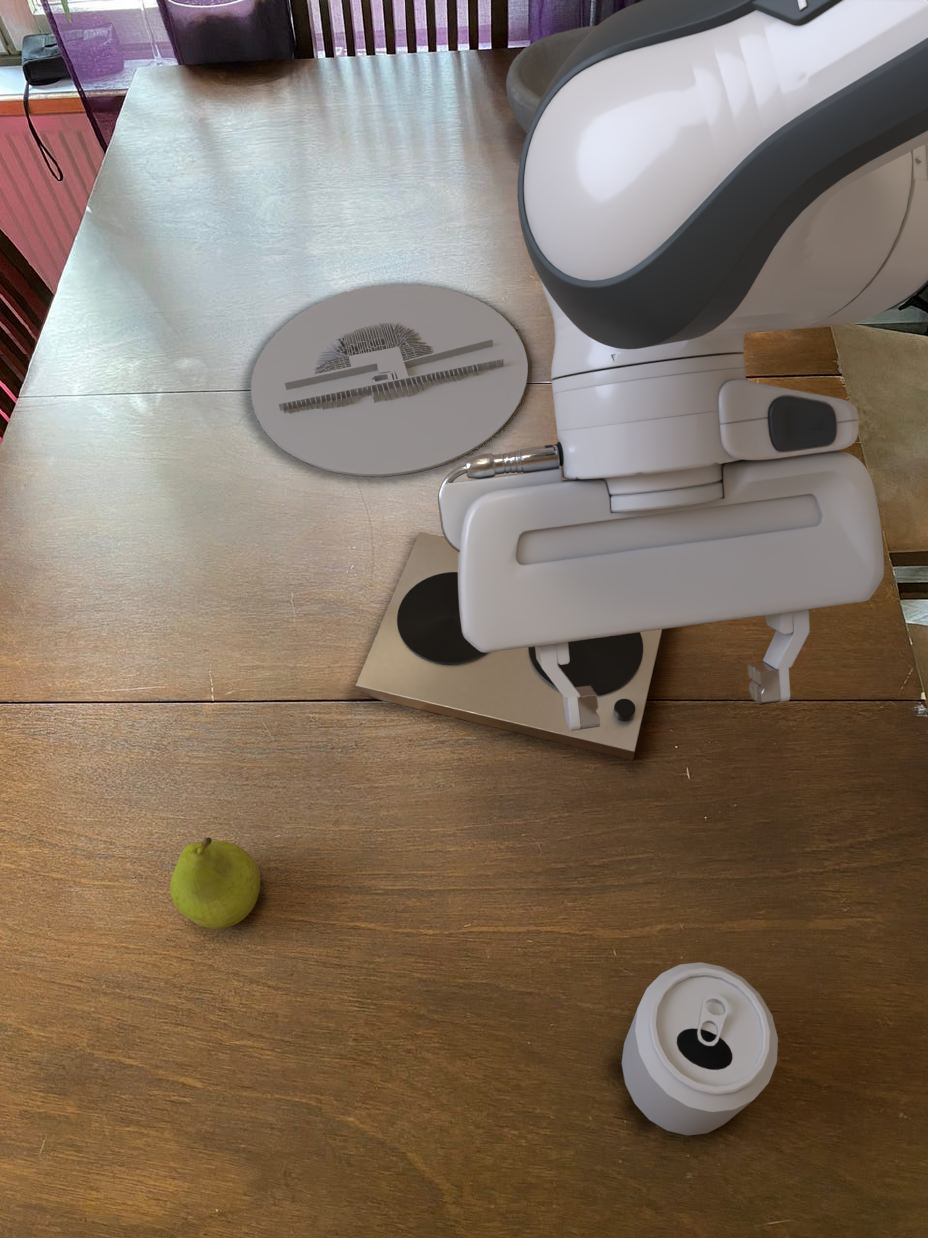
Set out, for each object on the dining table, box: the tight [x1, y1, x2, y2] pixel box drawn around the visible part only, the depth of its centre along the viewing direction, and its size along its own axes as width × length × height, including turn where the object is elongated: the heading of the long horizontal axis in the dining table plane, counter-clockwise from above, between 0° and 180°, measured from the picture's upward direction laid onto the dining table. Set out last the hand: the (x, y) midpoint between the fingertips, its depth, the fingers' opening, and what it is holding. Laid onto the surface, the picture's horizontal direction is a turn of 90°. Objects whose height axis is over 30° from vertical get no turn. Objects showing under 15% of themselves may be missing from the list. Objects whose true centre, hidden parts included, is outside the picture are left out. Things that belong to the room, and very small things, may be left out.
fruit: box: [169, 837, 261, 930], centre depth 63 cm, size 6×6×12 cm
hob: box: [355, 531, 663, 761], centre depth 78 cm, size 22×16×2 cm
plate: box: [250, 283, 529, 478], centre depth 97 cm, size 28×28×1 cm
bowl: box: [505, 25, 597, 134], centre depth 115 cm, size 23×22×10 cm
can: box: [621, 961, 779, 1136], centre depth 55 cm, size 8×8×12 cm
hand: (676, 713), depth 48 cm, fingers open, 8 cm apart
